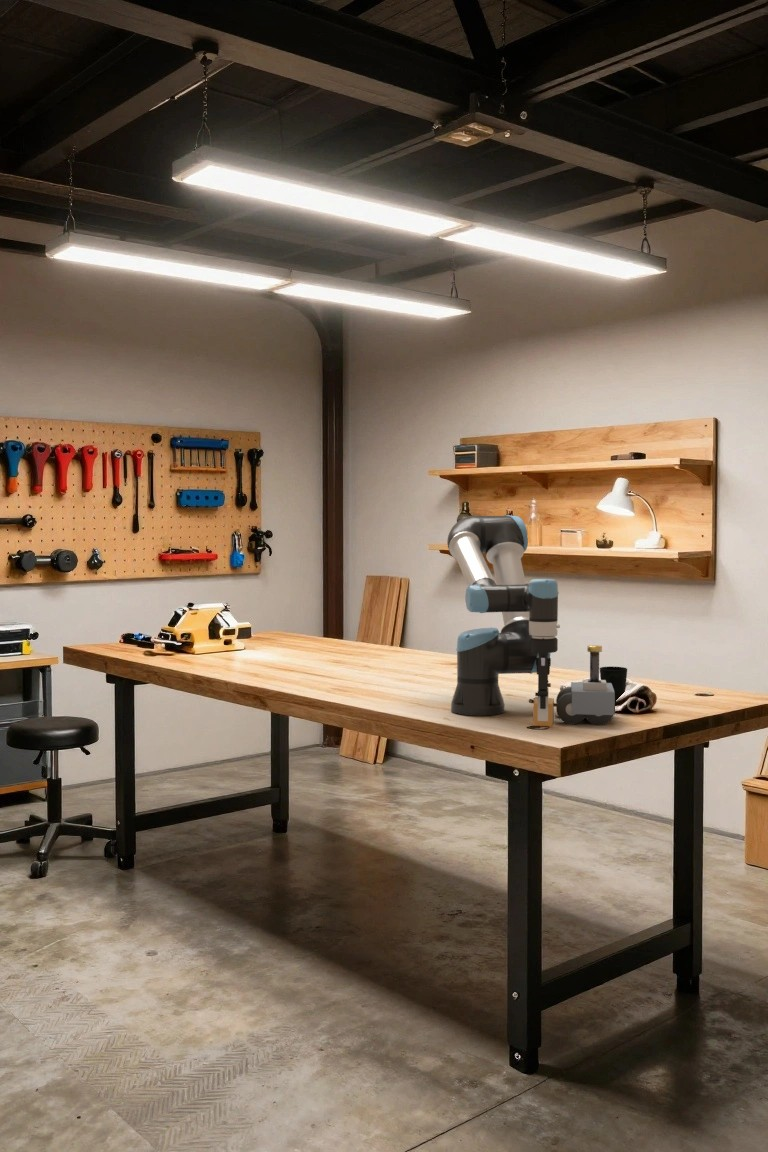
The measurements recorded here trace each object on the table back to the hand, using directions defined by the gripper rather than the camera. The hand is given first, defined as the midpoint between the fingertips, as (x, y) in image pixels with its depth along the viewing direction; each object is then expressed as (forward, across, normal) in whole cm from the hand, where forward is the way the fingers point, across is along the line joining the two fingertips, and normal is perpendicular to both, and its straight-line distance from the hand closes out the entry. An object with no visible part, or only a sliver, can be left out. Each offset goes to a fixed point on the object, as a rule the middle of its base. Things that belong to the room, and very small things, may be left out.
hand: (543, 716), depth 275 cm
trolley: (+2, +5, -11) cm, 12 cm away
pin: (-7, +2, -14) cm, 16 cm away
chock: (+2, 0, 0) cm, 2 cm away
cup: (+2, +21, -20) cm, 29 cm away
